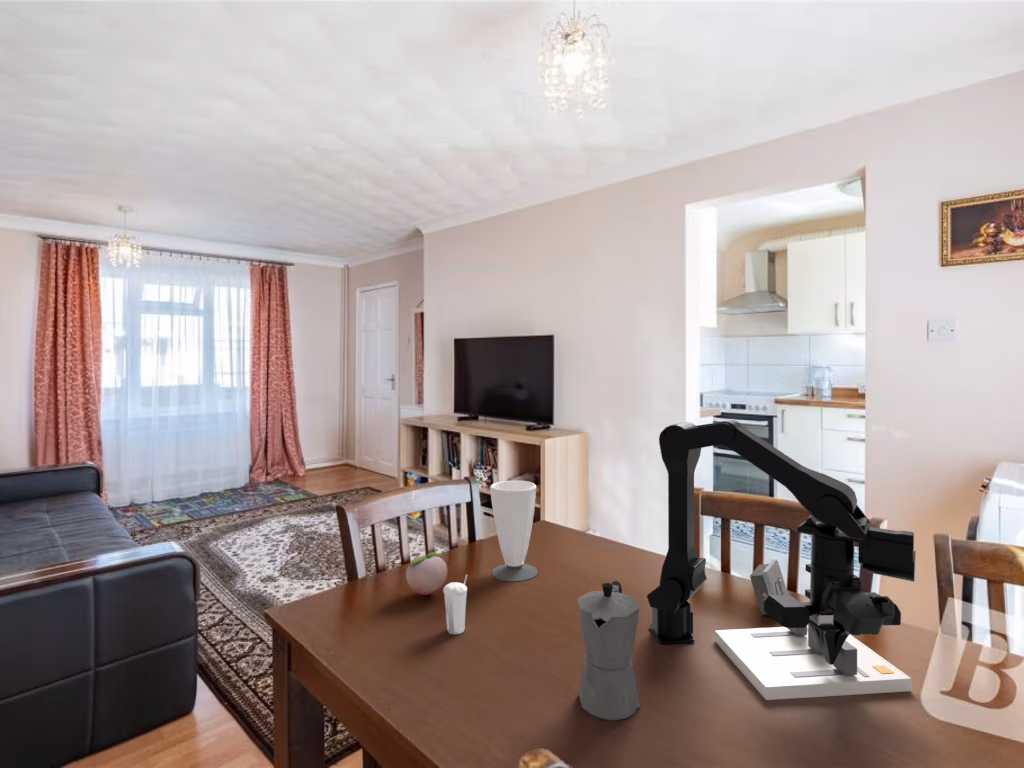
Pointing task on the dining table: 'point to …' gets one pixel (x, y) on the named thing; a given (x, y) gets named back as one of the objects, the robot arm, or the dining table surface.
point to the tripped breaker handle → (847, 660)
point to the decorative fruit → (426, 573)
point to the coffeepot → (608, 652)
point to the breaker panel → (804, 666)
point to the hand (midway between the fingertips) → (829, 663)
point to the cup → (513, 527)
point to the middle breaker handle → (813, 641)
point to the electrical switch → (767, 582)
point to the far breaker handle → (798, 631)
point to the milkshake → (455, 606)
